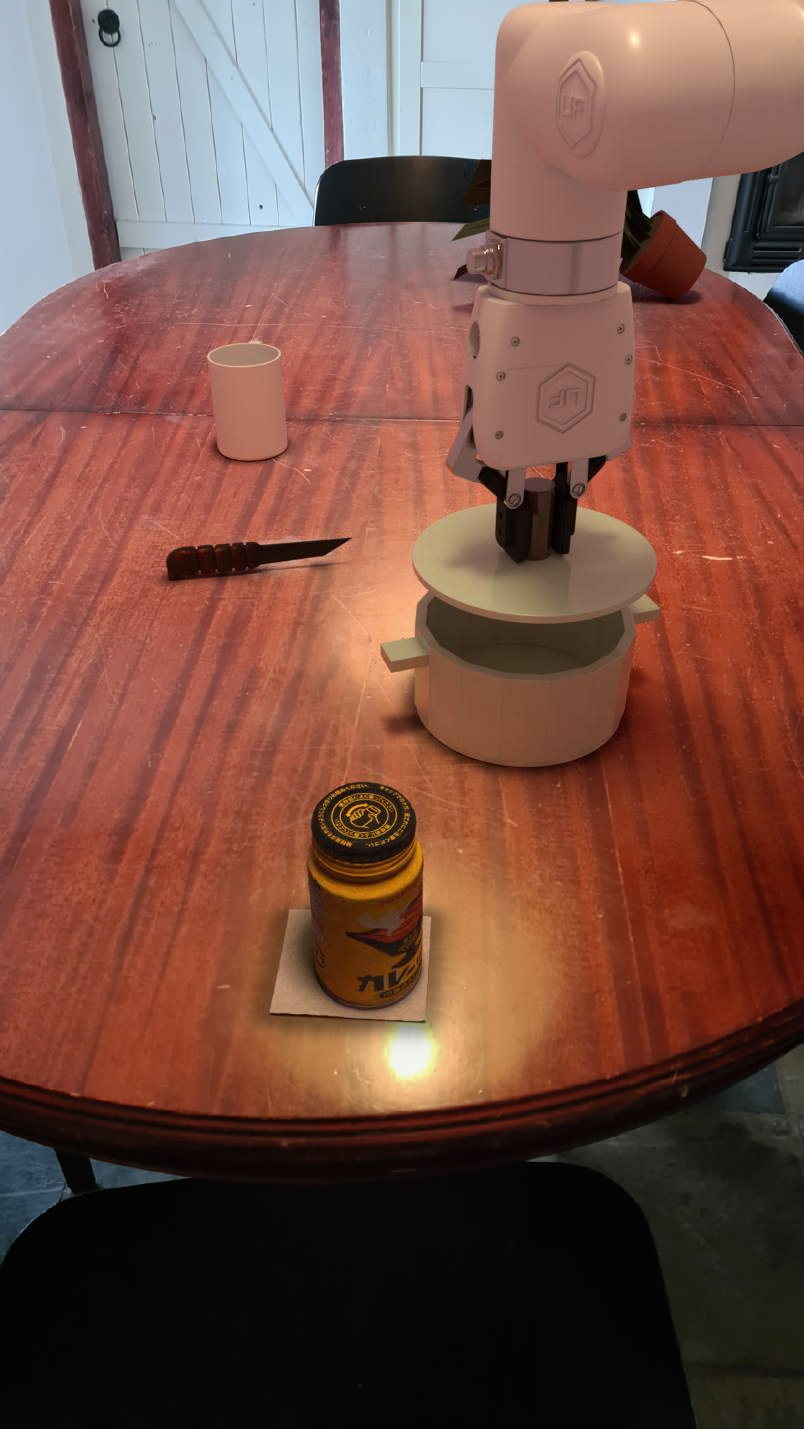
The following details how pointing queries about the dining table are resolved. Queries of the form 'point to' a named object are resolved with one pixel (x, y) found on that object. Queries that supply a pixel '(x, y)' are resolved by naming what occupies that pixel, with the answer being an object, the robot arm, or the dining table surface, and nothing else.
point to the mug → (248, 400)
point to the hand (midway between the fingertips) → (533, 547)
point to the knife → (243, 555)
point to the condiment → (359, 913)
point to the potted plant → (647, 244)
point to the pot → (519, 681)
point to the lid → (535, 564)
